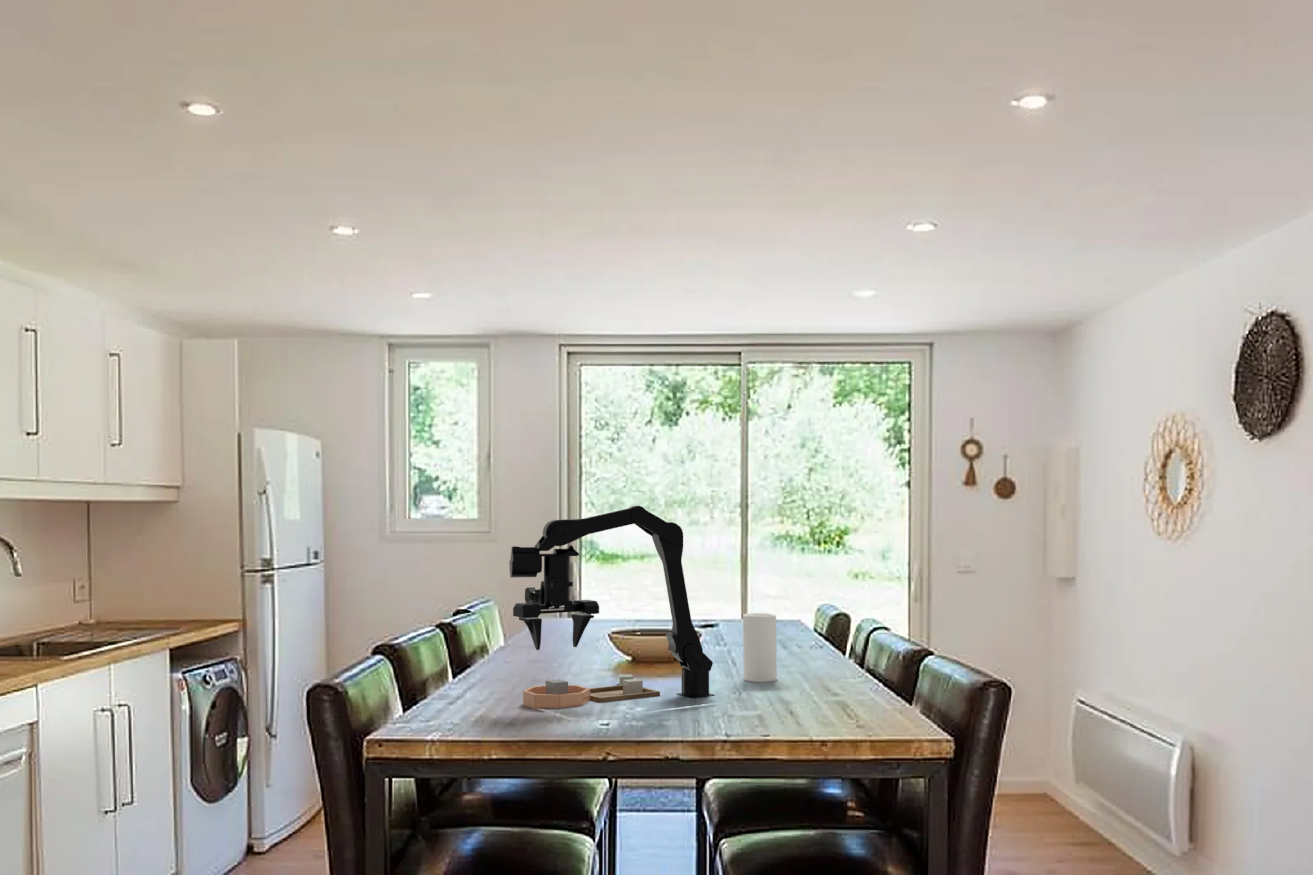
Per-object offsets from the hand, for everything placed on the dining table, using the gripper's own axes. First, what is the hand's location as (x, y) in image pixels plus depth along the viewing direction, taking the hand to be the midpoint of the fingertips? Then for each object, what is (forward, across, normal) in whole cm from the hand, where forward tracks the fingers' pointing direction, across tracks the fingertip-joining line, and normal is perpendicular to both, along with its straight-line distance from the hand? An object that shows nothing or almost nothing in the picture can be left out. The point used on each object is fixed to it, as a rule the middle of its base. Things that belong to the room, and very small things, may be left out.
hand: (556, 648), depth 234 cm
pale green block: (+9, -24, -11) cm, 28 cm away
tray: (+12, -15, 0) cm, 19 cm away
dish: (+12, 0, 0) cm, 12 cm away
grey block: (+12, 0, 0) cm, 12 cm away
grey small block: (+11, -19, +1) cm, 22 cm away
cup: (+12, -58, -2) cm, 59 cm away
